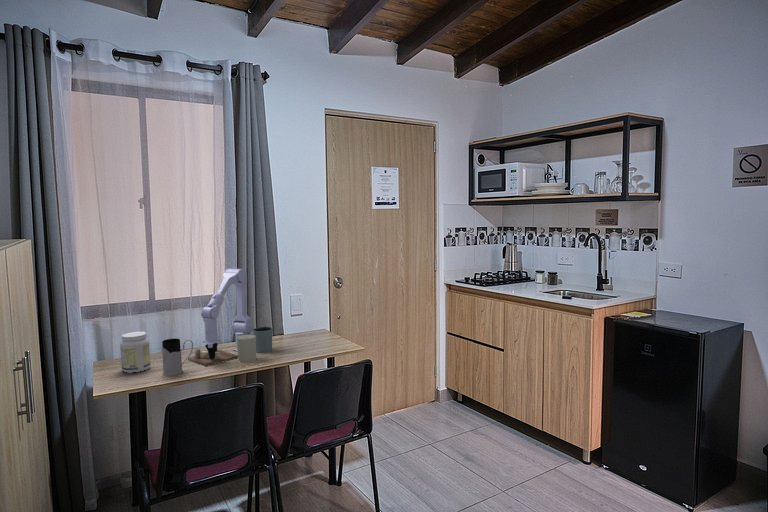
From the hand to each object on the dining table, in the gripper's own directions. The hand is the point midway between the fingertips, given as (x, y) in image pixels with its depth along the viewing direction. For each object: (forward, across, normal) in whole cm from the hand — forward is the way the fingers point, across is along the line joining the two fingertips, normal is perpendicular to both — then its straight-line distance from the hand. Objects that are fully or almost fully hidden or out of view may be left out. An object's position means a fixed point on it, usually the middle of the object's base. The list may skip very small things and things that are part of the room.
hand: (212, 358), depth 239 cm
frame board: (+2, -6, 0) cm, 7 cm away
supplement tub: (+2, 0, -34) cm, 34 cm away
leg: (+1, -4, -1) cm, 4 cm away
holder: (+2, +9, -14) cm, 17 cm away
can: (+2, 0, +16) cm, 17 cm away
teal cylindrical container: (+2, -12, +24) cm, 28 cm away
